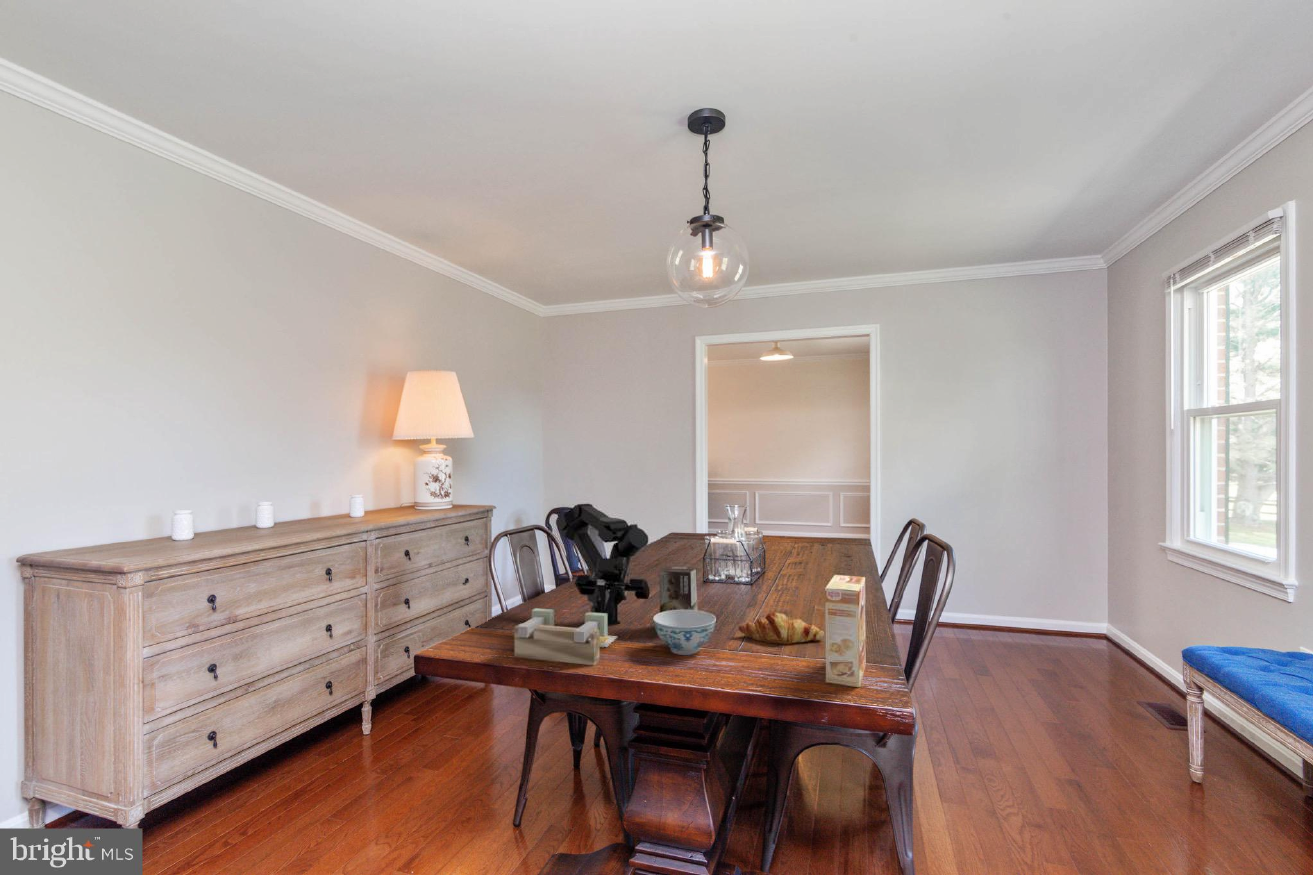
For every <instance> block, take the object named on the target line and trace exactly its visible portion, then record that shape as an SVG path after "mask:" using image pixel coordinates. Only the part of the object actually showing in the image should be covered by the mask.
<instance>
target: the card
mask: <svg viewBox="0 0 1313 875" xmlns="http://www.w3.org/2000/svg"><path fill="white" fill-rule="evenodd" d="M616 638H617V639H618V635H609V634H608V635H606V636H605V637H599V648H604V647H606V648H607V647H609V646H610V645H611V644H612V643H613V642H614V641H616V640H617V639H616ZM615 639H616V640H615ZM588 640H590V639H588ZM611 642H612V643H611ZM609 644H610V645H609Z"/></svg>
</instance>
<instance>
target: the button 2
mask: <svg viewBox="0 0 1313 875" xmlns="http://www.w3.org/2000/svg"><path fill="white" fill-rule="evenodd" d="M577 628H578V629H576V630H575V631H574V642H581V643H584V642H586V641H587V640H588V639H590V633H591V632H593V631H594V630H599V637H605V636H606V635H608V636H609V634H608V625H607V614H606V613H592V612H591V611H588V612H586V613H584V624H582V625H581V626H579V627H577Z"/></svg>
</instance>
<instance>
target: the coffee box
mask: <svg viewBox="0 0 1313 875" xmlns="http://www.w3.org/2000/svg"><path fill="white" fill-rule="evenodd" d="M697 572H698V568H697V567H691V566H689V567H688V566H686V567H685V566H664V567H663V568H661V569H660V570H659V571H658V584H659V586H658V589H659V613H661V612H665V611H671V610H697V611H699V610H698V573H697Z"/></svg>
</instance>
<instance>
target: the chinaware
mask: <svg viewBox="0 0 1313 875" xmlns="http://www.w3.org/2000/svg"><path fill="white" fill-rule="evenodd" d="M697 610H698V609H697ZM697 610H671V611H665V612H661V613H660V612H659V613H657V614H655V615H654V616H653V618H652V620H653V621H652V622H653V625H654V628H655V632H656V633H657V636H658V637H659V639H660V640H661V642H663V643H664V644H665V645H666V646H667V647H669V648H670V651H671V652H672V653H673V654H675V655H682V656H686V655H688V656H689V655H694V654H696V653H699V650H700V649H699V648H701V647H702V646H703V645H705V644H706V643H707V642H708V641H709V640H710V638H711V636H712V635H713V632H714V629H715V626H716V622H717V618H716V616H715V615H714V614H712V613H710V612H707V611H702V610H698V611H697Z"/></svg>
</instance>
